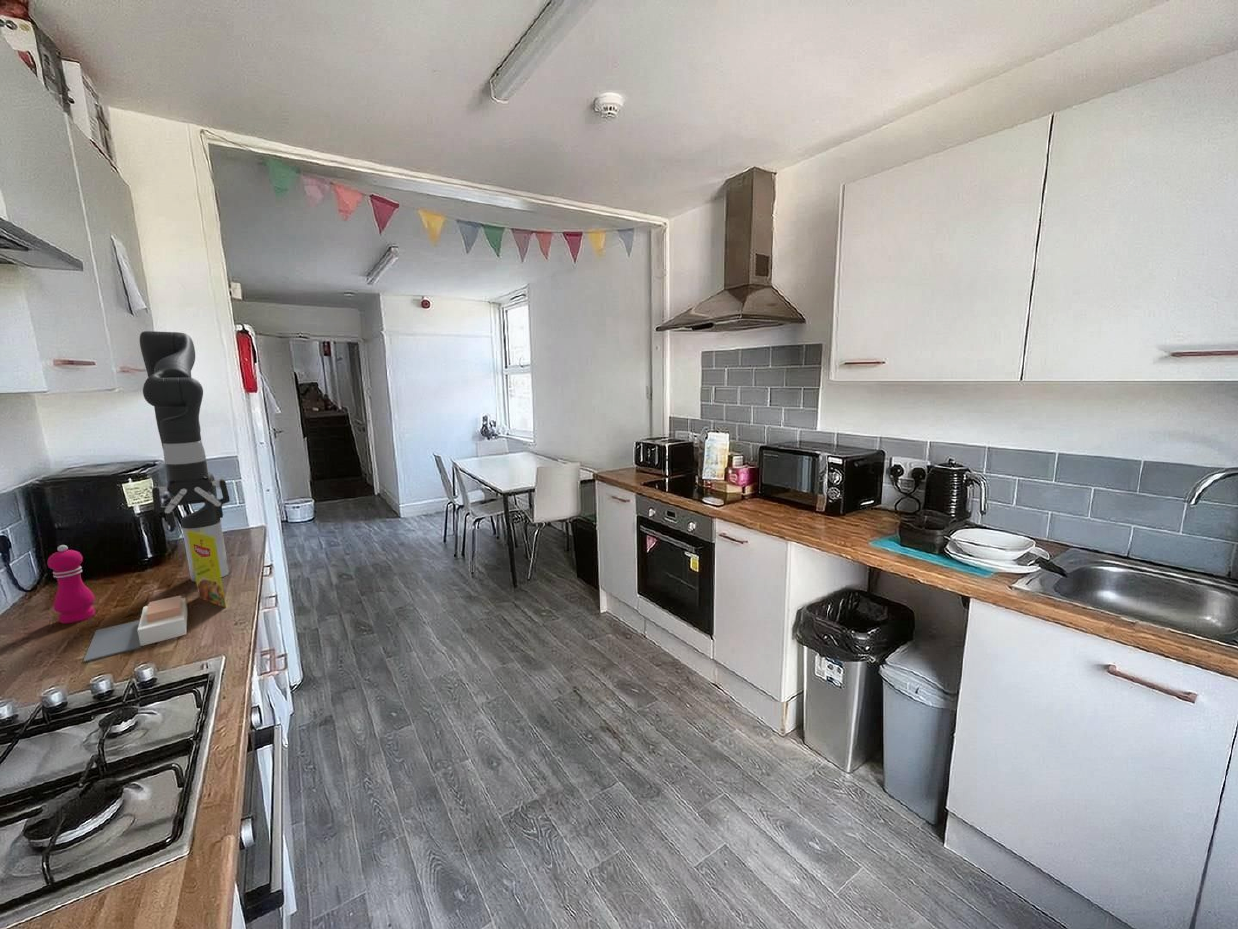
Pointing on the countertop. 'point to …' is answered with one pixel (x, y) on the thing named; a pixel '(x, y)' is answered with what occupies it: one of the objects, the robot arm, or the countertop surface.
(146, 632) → the white box
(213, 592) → the food package
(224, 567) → the robot arm
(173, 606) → the terracotta tile
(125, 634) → the rubber mat
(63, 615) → the pepper mill
